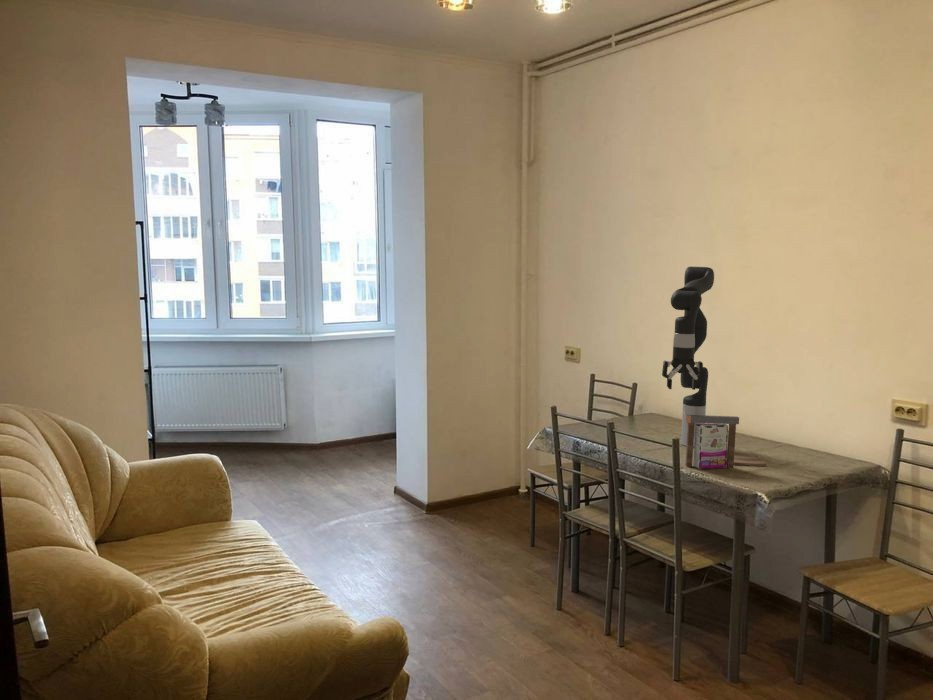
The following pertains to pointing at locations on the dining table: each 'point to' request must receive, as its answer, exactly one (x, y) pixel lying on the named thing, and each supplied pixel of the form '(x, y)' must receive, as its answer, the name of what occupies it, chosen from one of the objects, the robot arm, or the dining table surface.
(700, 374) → the robot arm
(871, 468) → the dining table surface
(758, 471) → the dining table surface
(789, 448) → the dining table surface
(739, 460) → the walnut board
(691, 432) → the posts
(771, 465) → the dining table surface
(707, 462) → the candy bar box
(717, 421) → the bar
